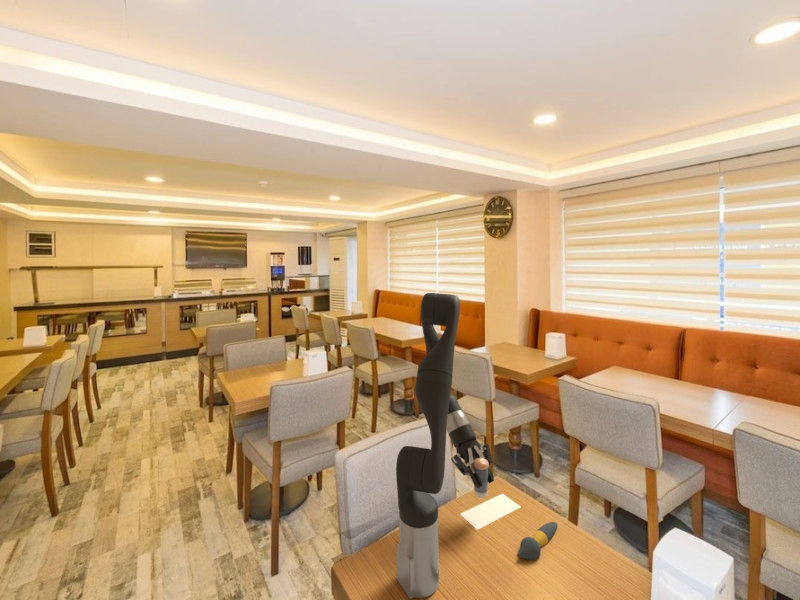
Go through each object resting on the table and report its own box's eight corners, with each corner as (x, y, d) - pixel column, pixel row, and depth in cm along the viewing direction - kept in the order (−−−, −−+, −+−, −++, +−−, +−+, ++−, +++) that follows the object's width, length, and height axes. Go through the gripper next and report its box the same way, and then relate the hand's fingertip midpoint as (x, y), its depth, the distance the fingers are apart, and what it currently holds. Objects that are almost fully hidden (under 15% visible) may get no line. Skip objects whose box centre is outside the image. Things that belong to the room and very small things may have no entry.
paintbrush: (543, 521, 105) (543, 505, 105) (560, 529, 102) (561, 513, 101) (512, 563, 91) (513, 545, 90) (532, 574, 87) (532, 556, 87)
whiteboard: (476, 537, 99) (476, 532, 99) (455, 518, 107) (455, 513, 107) (525, 511, 109) (525, 507, 109) (503, 495, 117) (503, 491, 117)
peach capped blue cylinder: (480, 500, 103) (480, 467, 101) (471, 492, 106) (471, 460, 105) (491, 495, 105) (491, 463, 103) (481, 487, 108) (481, 456, 107)
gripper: (446, 429, 106) (473, 489, 97) (481, 418, 113) (510, 473, 104) (435, 439, 111) (461, 496, 102) (470, 427, 118) (496, 480, 109)
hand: (485, 484), depth 103 cm, fingers closed on peach capped blue cylinder, 4 cm apart
